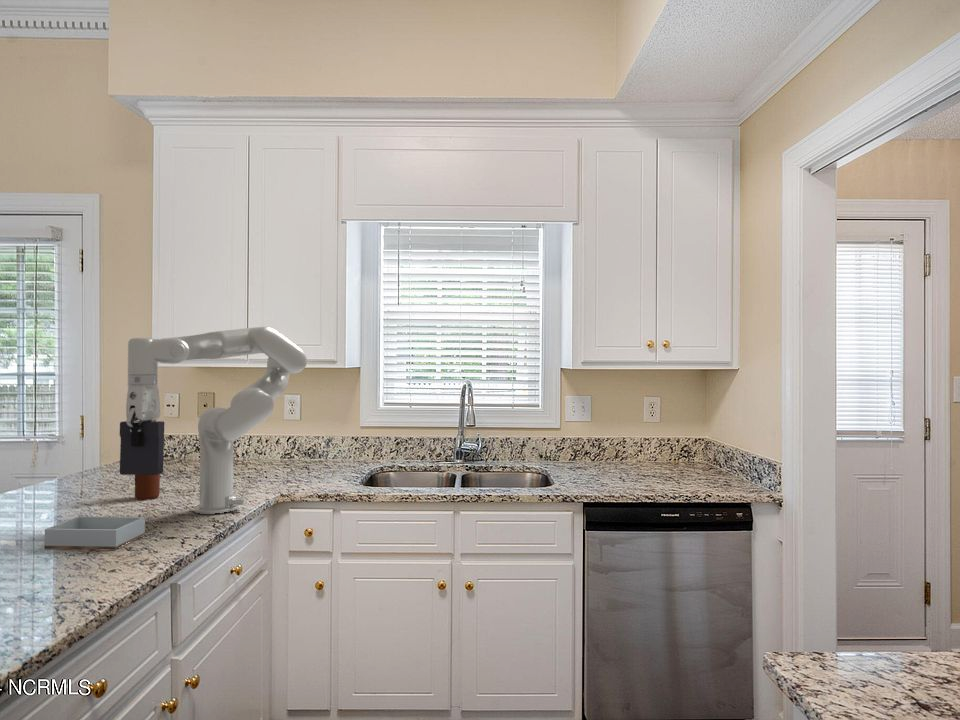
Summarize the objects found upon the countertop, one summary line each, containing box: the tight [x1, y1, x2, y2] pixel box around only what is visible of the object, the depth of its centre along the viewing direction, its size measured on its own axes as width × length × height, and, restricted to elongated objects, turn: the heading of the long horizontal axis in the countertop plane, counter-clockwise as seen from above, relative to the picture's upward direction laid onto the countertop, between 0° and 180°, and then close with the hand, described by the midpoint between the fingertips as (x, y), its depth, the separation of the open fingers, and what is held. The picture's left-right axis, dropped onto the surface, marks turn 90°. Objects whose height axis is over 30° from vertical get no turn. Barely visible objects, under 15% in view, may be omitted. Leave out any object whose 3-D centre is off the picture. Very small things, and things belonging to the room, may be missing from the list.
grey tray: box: [44, 515, 146, 547], centre depth 157 cm, size 18×13×4 cm
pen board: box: [44, 532, 146, 550], centre depth 157 cm, size 18×13×1 cm
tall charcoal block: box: [119, 420, 165, 476], centre depth 177 cm, size 11×4×15 cm, turn 90°
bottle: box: [134, 474, 161, 501], centre depth 207 cm, size 7×7×25 cm
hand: (142, 444), depth 177 cm, fingers closed on tall charcoal block, 4 cm apart
